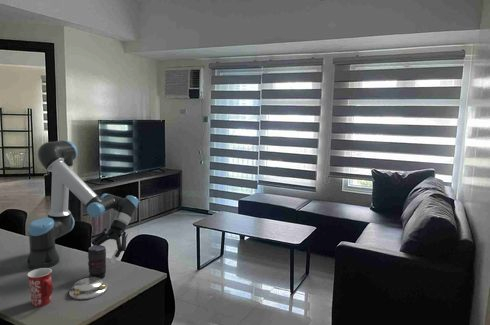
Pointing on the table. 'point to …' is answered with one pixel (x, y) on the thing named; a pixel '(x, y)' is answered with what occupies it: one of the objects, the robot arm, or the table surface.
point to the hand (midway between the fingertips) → (100, 260)
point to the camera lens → (97, 261)
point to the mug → (40, 286)
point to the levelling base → (87, 293)
